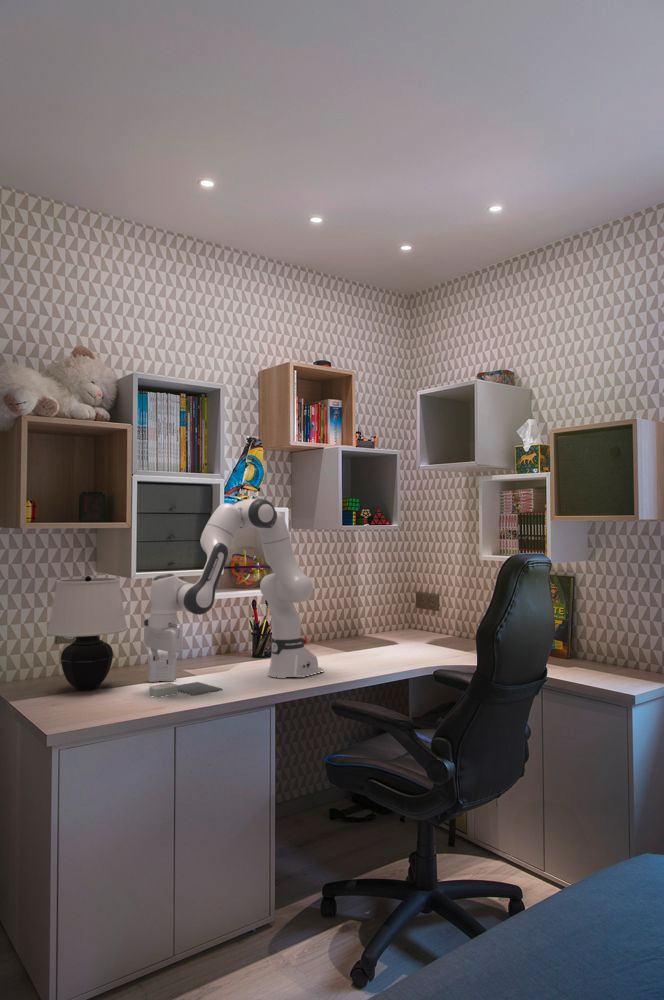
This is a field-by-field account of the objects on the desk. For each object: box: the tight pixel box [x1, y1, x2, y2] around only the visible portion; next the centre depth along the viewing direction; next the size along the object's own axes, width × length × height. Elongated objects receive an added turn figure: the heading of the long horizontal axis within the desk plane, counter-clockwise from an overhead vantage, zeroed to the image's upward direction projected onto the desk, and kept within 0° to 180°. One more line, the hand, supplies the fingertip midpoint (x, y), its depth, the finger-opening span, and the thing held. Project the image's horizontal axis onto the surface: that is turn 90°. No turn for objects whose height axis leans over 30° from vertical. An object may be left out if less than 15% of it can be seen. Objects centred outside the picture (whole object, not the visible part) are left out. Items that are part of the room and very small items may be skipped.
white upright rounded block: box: [147, 649, 177, 683], centre depth 262 cm, size 10×4×12 cm, turn 104°
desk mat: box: [177, 681, 223, 696], centre depth 248 cm, size 12×16×1 cm
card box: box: [148, 682, 178, 698], centre depth 239 cm, size 8×4×4 cm, turn 135°
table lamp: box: [46, 575, 128, 692], centre depth 249 cm, size 27×27×40 cm
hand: (162, 663), depth 239 cm, fingers open, 8 cm apart
